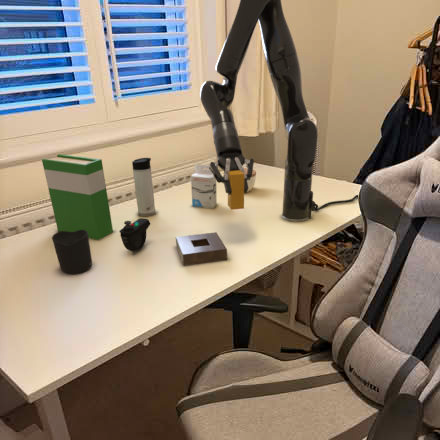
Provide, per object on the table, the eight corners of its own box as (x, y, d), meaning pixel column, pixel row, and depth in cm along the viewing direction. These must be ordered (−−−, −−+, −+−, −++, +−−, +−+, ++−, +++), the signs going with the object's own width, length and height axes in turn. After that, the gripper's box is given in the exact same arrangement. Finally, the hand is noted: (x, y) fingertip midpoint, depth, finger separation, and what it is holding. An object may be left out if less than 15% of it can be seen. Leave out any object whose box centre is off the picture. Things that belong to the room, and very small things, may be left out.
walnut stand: (216, 242, 139) (216, 232, 137) (227, 259, 128) (226, 248, 127) (176, 247, 137) (175, 236, 135) (183, 265, 126) (182, 254, 124)
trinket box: (231, 186, 189) (231, 164, 184) (256, 186, 187) (257, 164, 182) (228, 194, 180) (228, 171, 175) (254, 194, 178) (255, 171, 173)
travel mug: (153, 216, 160) (147, 160, 149) (135, 216, 161) (128, 160, 151) (158, 210, 165) (153, 156, 155) (141, 210, 166) (135, 155, 156)
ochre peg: (240, 204, 136) (240, 170, 131) (244, 208, 133) (244, 173, 128) (227, 205, 135) (227, 171, 130) (231, 209, 132) (231, 174, 127)
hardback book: (58, 231, 150) (41, 159, 138) (73, 223, 156) (59, 154, 143) (98, 240, 143) (84, 165, 131) (113, 231, 149) (101, 159, 136)
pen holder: (75, 278, 121) (68, 245, 116) (52, 270, 125) (44, 238, 120) (100, 264, 128) (94, 232, 122) (77, 257, 132) (71, 226, 127)
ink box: (191, 206, 168) (189, 167, 161) (196, 202, 172) (194, 164, 165) (212, 208, 166) (211, 169, 158) (217, 204, 170) (216, 165, 162)
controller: (120, 255, 133) (115, 224, 127) (142, 240, 142) (139, 210, 137) (132, 258, 131) (128, 226, 126) (154, 241, 141) (151, 211, 136)
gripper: (205, 135, 129) (216, 189, 125) (252, 132, 132) (264, 184, 128) (202, 150, 136) (212, 201, 132) (246, 147, 139) (257, 196, 135)
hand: (237, 192), depth 130 cm, fingers closed on ochre peg, 4 cm apart
